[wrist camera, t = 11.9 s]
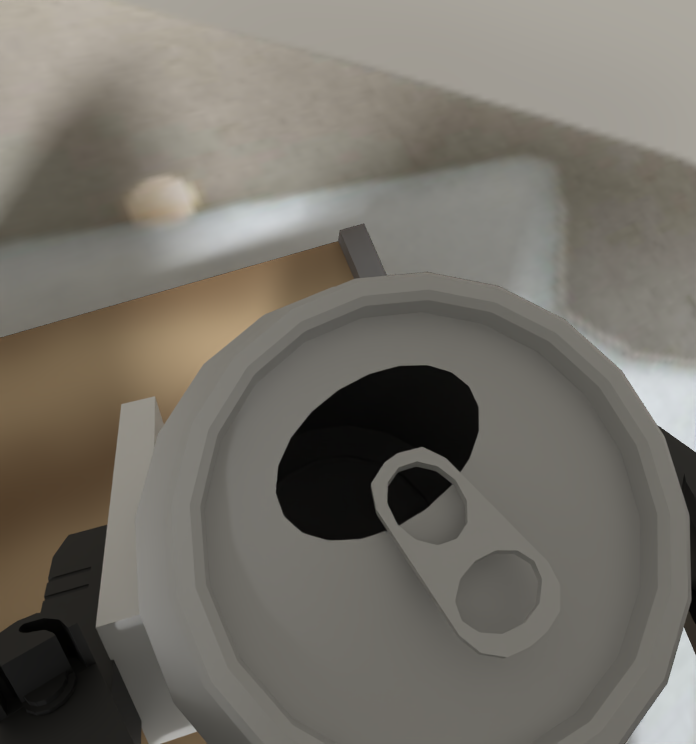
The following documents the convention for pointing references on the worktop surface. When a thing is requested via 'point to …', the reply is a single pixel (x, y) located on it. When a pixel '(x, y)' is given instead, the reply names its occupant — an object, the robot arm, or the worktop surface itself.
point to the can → (412, 528)
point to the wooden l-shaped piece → (121, 397)
